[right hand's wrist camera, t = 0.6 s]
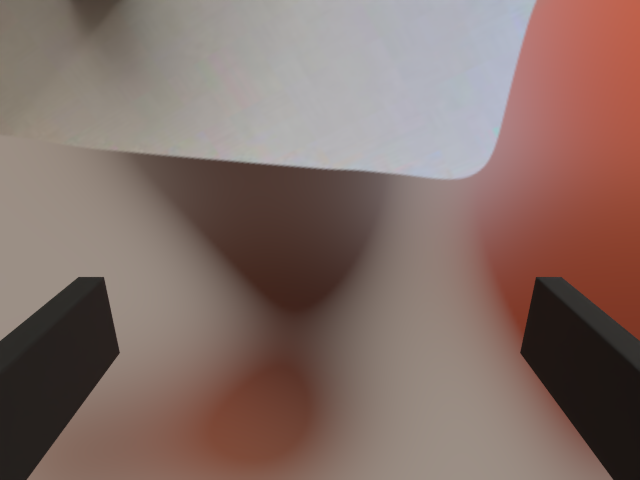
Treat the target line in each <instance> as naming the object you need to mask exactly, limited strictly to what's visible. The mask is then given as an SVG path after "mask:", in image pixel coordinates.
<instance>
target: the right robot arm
mask: <svg viewBox="0 0 640 480" xmlns="http://www.w3.org/2000/svg"><path fill="white" fill-rule="evenodd" d="M119 353H120V352H119V347H118V343H117V338H116V333H115V328H114V323H113V319H112V314H111V309H110V304H109V299H108V295H107V290H106V285H105V280H104V277H78V278H77V279H76V280H75V281H73V282H72V283H71V284H70V285H68V286H67V287H66V288H65V289H64V290H62V291H61V292H60V293H59V294H57V295H56V296H55V297H54V298H52V299H51V300H50V301H49V302H48V303H46V304H45V305H44V306H43V307H41V308H40V309H39V310H38V311H37V312H35V313H34V314H33V315H32V316H30V317H29V318H28V319H27V320H26V321H24V322H23V323H22V324H21V325H19V326H18V327H17V328H16V329H14V330H13V331H12V332H11V333H10V334H8V335H7V336H6V337H5V338H3V339H2V340H1V341H0V480H27V478H28V477H29V476H30V474H31V473H32V472H33V470H34V469H35V467H36V466H37V465H38V463H39V462H40V461H41V459H42V458H43V457H44V455H45V454H46V453H47V451H48V450H49V448H50V447H51V446H52V444H53V443H54V442H55V440H56V439H57V437H58V436H59V435H60V433H61V432H62V431H63V429H64V428H65V427H66V425H67V424H68V423H69V421H70V420H71V419H72V417H73V416H74V414H75V413H76V412H77V410H78V409H79V408H80V406H81V405H82V404H83V402H84V401H85V399H86V398H87V397H88V395H89V394H90V393H91V391H92V390H93V389H94V387H95V386H96V384H97V383H98V382H99V380H100V379H101V378H102V376H103V375H104V374H105V372H106V371H107V370H108V368H109V367H110V365H111V364H112V363H113V361H114V360H115V359H116V357H117V356H118V355H119ZM520 353H521V354H522V356H523V357H524V359H525V360H526V361H527V363H528V364H529V365H530V367H531V368H532V369H533V371H534V372H535V374H536V375H537V376H538V378H539V379H540V380H541V382H542V383H543V384H544V386H545V387H546V389H547V390H548V391H549V393H550V394H551V395H552V397H553V398H554V399H555V401H556V402H557V403H558V405H559V406H560V408H561V409H562V410H563V412H564V413H565V414H566V416H567V417H568V418H569V420H570V421H571V423H572V424H573V425H574V427H575V428H576V429H577V431H578V432H579V433H580V435H581V436H582V438H583V439H584V440H585V442H586V443H587V444H588V446H589V447H590V448H591V450H592V451H593V453H594V454H595V455H596V457H597V458H598V459H599V461H600V462H601V463H602V465H603V466H604V468H605V469H606V470H607V472H608V473H609V474H610V476H611V477H612V478H613V480H640V341H639V340H638V339H637V338H635V337H634V336H633V335H632V334H630V333H629V332H628V331H627V330H625V329H624V328H623V327H622V326H621V325H619V324H618V323H617V322H616V321H615V320H613V319H612V318H611V317H610V316H608V315H607V314H606V313H605V312H603V311H602V310H601V309H600V308H599V307H597V306H596V305H595V304H594V303H592V302H591V301H590V300H589V299H588V298H586V297H585V296H584V295H583V294H581V293H580V292H579V291H578V290H577V289H575V288H574V287H573V286H572V285H570V284H569V283H568V282H567V281H565V280H564V279H563V278H562V277H536V280H535V285H534V290H533V295H532V299H531V304H530V309H529V314H528V319H527V323H526V328H525V333H524V338H523V343H522V347H521V352H520Z"/></svg>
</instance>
